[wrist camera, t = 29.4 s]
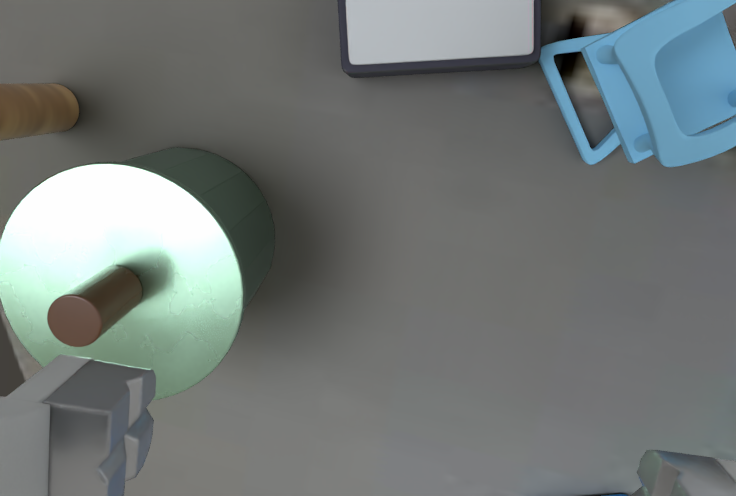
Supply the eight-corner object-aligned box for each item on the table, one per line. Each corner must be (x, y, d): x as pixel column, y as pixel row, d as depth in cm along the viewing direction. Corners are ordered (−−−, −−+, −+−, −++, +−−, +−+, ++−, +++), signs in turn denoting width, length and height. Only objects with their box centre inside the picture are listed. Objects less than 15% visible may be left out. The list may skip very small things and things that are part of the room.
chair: (712, 102, 39) (847, 111, 27) (583, 165, 40) (659, 200, 28) (665, -19, 37) (787, -64, 25) (532, 51, 38) (591, 37, 27)
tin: (108, 135, 41) (12, 152, 31) (284, 163, 41) (246, 189, 31) (100, 301, 44) (10, 367, 34) (264, 328, 44) (224, 402, 34)
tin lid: (10, 141, 31) (-73, 154, 26) (261, 181, 31) (231, 202, 26) (9, 372, 34) (-66, 427, 29) (236, 408, 34) (205, 470, 29)
